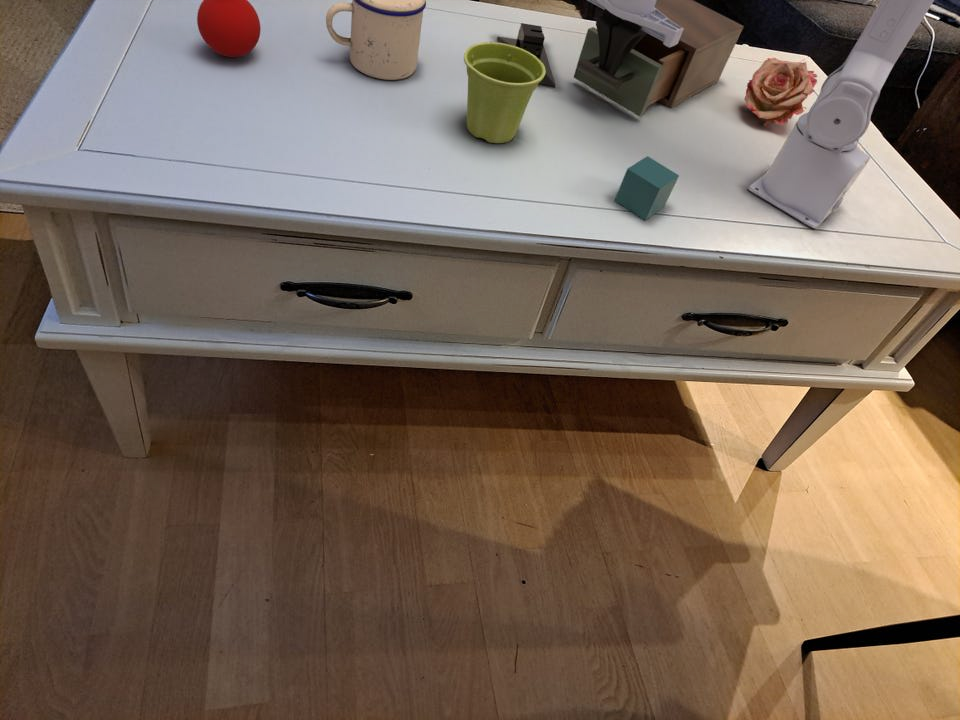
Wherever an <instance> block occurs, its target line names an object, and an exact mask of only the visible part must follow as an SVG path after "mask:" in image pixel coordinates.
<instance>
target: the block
mask: <svg viewBox="0 0 960 720" xmlns="http://www.w3.org/2000/svg"><path fill="white" fill-rule="evenodd" d="M679 177H680V174H678V173H676V172H675V171H673V170H671V169H669V168H668V167H667V166H665V165H663V164H661V162H658V161H656V160H655V159H653V158H651V157H650V156H649V155H647V156H645V157H644V158H641V159H640V160H639V161H637V162H636V163H634V164H632V165H631V166H629V167H627V168H626V171H625V173H624V176H623V178H622V181H621V183H620V186H619V188H618V191H617V193H616V194H615V195H616V196H615V198H614V200H613V201H614V202H616V203H617V204H619V205H620V206H622V207H623V208H625V209H626V210H628V211H629V212H631V213H633V214H634V215H635V216H637V217H639V218H640V219H642V220H643V221H647V220H648V219H650V218H651V217H653V215H655V214H656V213H658V212H659V211H661V210H662V209H664V208H665V206H666V204H667V202H668V201H669V198H670V195H671V194H672V192H673V189H674V188H675V185H676V184H677V181H678V179H679Z"/></svg>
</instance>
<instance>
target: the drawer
mask: <svg viewBox="0 0 960 720" xmlns="http://www.w3.org/2000/svg"><path fill="white" fill-rule="evenodd" d="M688 54H689V52H688V51H686V50H685V49H683V48H681V47H679V46H677V45H675V46H672V47H670V48H669V47H667V46H665V45H664V44H663V41H661V40H659V39H657V38H656V37H654V36H652V35H650V34H648V33H647V34H646V35H645V36H644V37H643V38H642V39H641V40H640V41H639V42H638V43H637V44H636V45H635V46H634V48H633V49H632V50H631V51H630V52H629V54H628V55H627V56H626V58H625V59H624V60H623V62H622V63H621V65H620V66H619V68H618V70H617V72H616V73H615V75H612V74H610V73H608V72H607V71H605V70H603V69H601V68H600V67H599V38H598V32H597V27H594V26H591V27H589V28H587V31H586V35H585V38H584V41H583V44H582V48H581V50H580V55H579V57H578V61H577V64H576V67H575V71H574V74H573V78H574V79H575V80H577V81H579V82H581V83H582V84H583V85H586V86H587V87H589V88H591V89H592V90H594V91H595V92H597V93H598V94H600V95H602V96H603V97H606V98H608V99H609V100H611V102H614V103H616V104H618V105H619V106H621V107H622V108H624V109H626V110H627V111H629V112H631V113H632V114H635V115H636V116H637V117H642V116H644V115H645V113H646V111H647V108H648V107H649V106H651V105H652V104H654V103H656V102H659V101H658V100H660V99H662V98H664V97H666V96H668V95H669V94H671V93H672V91H673V89H674V87H675V84H676V82H677V79H678V77H679V75H680V72H681V70H682V68H683V65H684V63H685V61H686V58H687V56H688Z"/></svg>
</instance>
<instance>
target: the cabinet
mask: <svg viewBox="0 0 960 720" xmlns="http://www.w3.org/2000/svg"><path fill="white" fill-rule="evenodd" d="M655 8H656V9H657V10H659V11H660V12H661V13H662V14H664V15H665V16H666V17H667V18H669V19H670V20H671V21H673V22H674V23H675V24H677V25H678V26H680V27H682V28H684V29H683V32H682V34H681V37H680V39H679V42H678V44H676V45H677V46H679V47H681V48H683V49H685V50H686V51H688V52H689V54H688V56H687V58H686V61H685V63H684V65H683V68H682V70H681V72H680V75H679V77H678V79H677V82H676V84H675V87H674V89H673V91H672V93H671V94H669V95H668V96H666V97H664V98H662V99H660V100H658V101H657V102H660V103H661V104H663V105H664V106H666V107H668V108H670V109H672V108H674V107H675V106H677V105H680V104H681V103H683V102H684V101H686V100H688V99H690V98H692V97H694V96H695V95H697V94H699V93H701V92H702V91H704V90H707V89H708V88H710V87H712V86H713V85H715V84H717V83H718V82H719V80H720V78H721V76H722V74H723V72H724V69H725V67H726V65H727V63H728V61H729V59H730V57H731V55H732V52H733V50H734V48H735V46H736V44H737V42H738V40H739V39H740V38H739V37H740V35H741V33H742V31H743V29H744V27H745V26H744V25H742V24H740V23H738V22H737V21H735V20H733V19H730V18H729V17H727V16H725V15H722V14H721V13H718V12H717V11H715V10H713V9H712V8H709V7H707V6H705V5H703V4H701V3H699V2H697V1H696V0H657V1H656V4H655Z"/></svg>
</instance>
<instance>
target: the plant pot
mask: <svg viewBox="0 0 960 720" xmlns="http://www.w3.org/2000/svg"><path fill="white" fill-rule="evenodd" d="M463 62H464V64H465V66H466V74H467V99H466V100H467V101H466V102H467V105H466V128H467V130H468V132H469V133H470V134H471V135H472V136H473V137H475V138H479V139H480V138H481V139H484V140H485V141H486V142H487V143H491V144H503V143H508V142H511V141H512V140H513V138H514V137H515V136H516V135H517V132H518V129H519V128H520V127H519V126H520V125H521V122H522V119H523V117H524V115H525V112H526V109H527V106H528V105H529V103H530V100H531V97H532V95H533V94H534V93H533V92H534V91H535V90H536V89H537V87H538V86H537V85H538V83H539V82H540V81H541V80H542V79H543V78H544V76H545V73H546V70H545V67H544V65H543V63H542V62H541V61H540V60H539V59H538V58H537V57H536V56H534V55H533V54H531V53H529V52H528V51H526V50H524V49H521V48H518V47H516V46H512V45H508V44H503V43H498V42H497V41H496V42H494V41H490V42H488V41H485V42H480V43H474V44H472V45H470V46H468V48H466V49H465V51H464V53H463Z"/></svg>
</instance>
